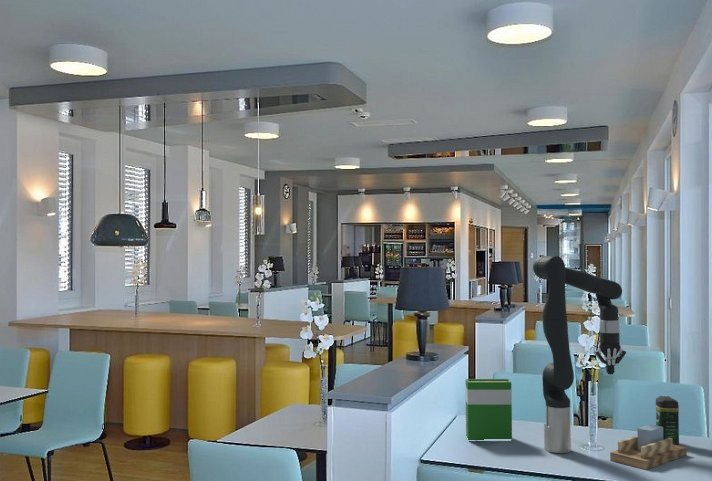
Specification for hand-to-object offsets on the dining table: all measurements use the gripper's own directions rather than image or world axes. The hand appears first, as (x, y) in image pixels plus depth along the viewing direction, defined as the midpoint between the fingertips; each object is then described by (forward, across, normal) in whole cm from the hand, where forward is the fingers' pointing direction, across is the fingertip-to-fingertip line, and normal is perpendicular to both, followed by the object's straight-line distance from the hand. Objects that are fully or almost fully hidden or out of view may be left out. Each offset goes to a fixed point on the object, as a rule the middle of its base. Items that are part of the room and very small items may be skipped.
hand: (610, 374), depth 282 cm
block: (+24, +6, -21) cm, 33 cm away
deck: (+27, +5, -22) cm, 35 cm away
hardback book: (+27, -48, +8) cm, 56 cm away
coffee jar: (+28, +21, -4) cm, 35 cm away
